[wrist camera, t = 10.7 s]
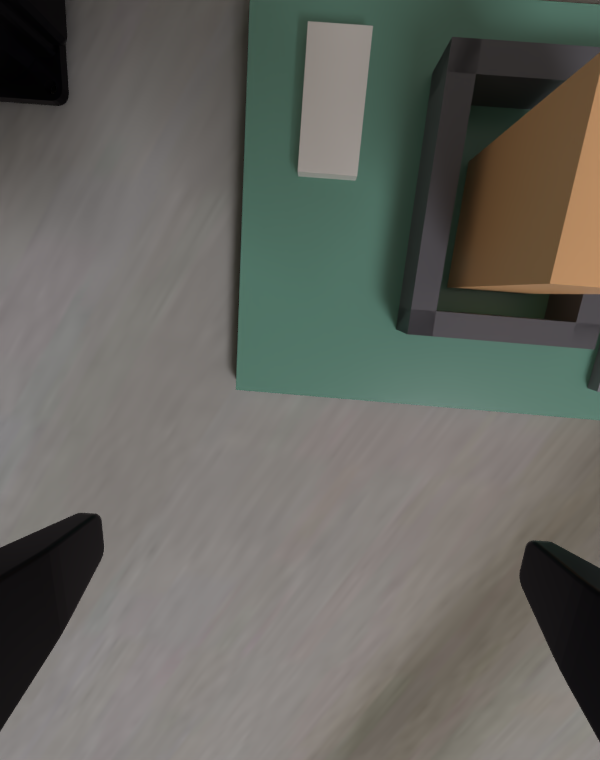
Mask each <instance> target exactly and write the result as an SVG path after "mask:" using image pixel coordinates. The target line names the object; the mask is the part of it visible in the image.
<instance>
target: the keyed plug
mask: <svg viewBox="0 0 600 760" xmlns="http://www.w3.org/2000/svg"><path fill="white" fill-rule="evenodd" d="M447 288H459V289H472V290H484V291H497V292H510V293H523V294H600V53H598V54H597V55H596V56H595V57H594V58H592V59H591V60H590V61H589V62H588V63H586V64H585V65H584V66H583V67H582V68H580V69H579V70H578V71H577V72H576V73H574V74H573V75H572V76H571V77H570V78H568V79H567V80H566V81H565V82H564V83H562V84H561V85H560V86H559V87H558V88H556V89H555V90H554V91H553V92H552V93H550V94H549V95H548V96H547V97H546V98H544V99H543V100H542V101H541V102H540V103H538V104H537V105H536V106H535V107H534V108H532V109H531V110H530V111H529V112H528V113H526V114H525V115H524V116H523V117H522V118H521V119H519V120H518V121H517V122H516V123H515V124H513V125H512V126H511V127H510V128H509V129H507V130H506V131H505V132H504V133H503V134H501V135H500V136H499V137H498V138H497V139H495V140H494V141H493V142H492V143H491V144H489V145H488V146H487V147H486V148H485V149H483V150H482V151H481V152H480V153H479V154H477V155H476V156H475V157H474V158H473V159H471V160H470V161H469V162H468V168H467V174H466V180H465V186H464V192H463V197H462V203H461V209H460V215H459V221H458V227H457V232H456V238H455V244H454V250H453V256H452V262H451V267H450V273H449V279H448V285H447Z"/></svg>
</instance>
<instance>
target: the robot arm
mask: <svg viewBox="0 0 600 760" xmlns="http://www.w3.org/2000/svg"><path fill="white" fill-rule="evenodd" d="M66 40H67V29H66V14H65V0H0V101H1V102H14V103H28V104H41V105H55V106H60V105H63V104H65V103H66V101H67V99H68V95H69V90H68V75H67V61H66V46H65V43H66ZM55 85H56V87H57V88H56V92H55V93H54V94H52V93H51V89H52V87H53V86H55ZM103 552H104V541H103V531H102V521H101V518H100V516H99V515H98V514H92V513H77V514H75V515H73V516H70V517H68V518H66V519H64V520H61V521H59V522H57V523H55V524H52V525H50V526H48V527H46V528H43V529H41V530H39V531H37V532H34V533H32V534H30V535H28V536H25V537H23V538H21V539H19V540H16V541H14V542H12V543H10V544H7V545H5V546H3V547H1V548H0V731H1V729H2V728H3V726H4V725H5V723H6V721H7V720H8V718H9V717H10V715H11V714H12V712H13V710H14V709H15V707H16V706H17V704H18V703H19V701H20V699H21V698H22V696H23V695H24V693H25V692H26V690H27V688H28V687H29V685H30V684H31V682H32V681H33V679H34V677H35V676H36V674H37V673H38V671H39V670H40V668H41V667H42V665H43V663H44V662H45V660H46V659H47V657H48V656H49V654H50V652H51V651H52V649H53V648H54V646H55V644H56V643H57V641H58V639H59V638H60V636H61V635H62V633H63V631H64V629H65V627H66V626H67V624H68V622H69V620H70V618H71V616H72V614H73V612H74V611H75V609H76V607H77V605H78V603H79V601H80V599H81V597H82V595H83V593H84V591H85V590H86V588H87V586H88V584H89V582H90V580H91V578H92V576H93V574H94V572H95V570H96V569H97V567H98V565H99V563H100V561H101V559H102V556H103ZM520 583H521V586H522V589H523V591H524V593H525V595H526V597H527V600H528V602H529V604H530V606H531V608H532V611H533V613H534V615H535V617H536V619H537V622H538V624H539V626H540V628H541V630H542V633H543V635H544V637H545V639H546V641H547V644H548V646H549V648H550V650H551V652H552V655H553V657H554V659H555V661H556V663H557V665H558V667H559V669H560V671H561V673H562V675H563V676H564V678H565V680H566V682H567V684H568V686H569V688H570V689H571V691H572V693H573V695H574V697H575V698H576V700H577V702H578V704H579V706H580V707H581V709H582V711H583V713H584V715H585V716H586V718H587V720H588V722H589V724H590V725H591V727H592V729H593V731H594V733H595V734H596V736H597V738H598V740H599V742H600V568H598V567H597V566H595V565H593V564H591V563H589V562H587V561H586V560H584V559H582V558H580V557H578V556H576V555H575V554H573V553H571V552H569V551H567V550H565V549H564V548H562V547H560V546H558V545H556V544H554V543H552V542H549V541H530V542H528V543H527V545H526V547H525V552H524V556H523V560H522V565H521V569H520Z"/></svg>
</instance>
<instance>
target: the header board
mask: <svg viewBox="0 0 600 760" xmlns="http://www.w3.org/2000/svg"><path fill="white" fill-rule="evenodd" d="M598 53H600V5H599V4H584V3H570V2H555V1H541V0H250V7H249V35H248V64H247V92H246V120H245V148H244V176H243V205H242V233H241V261H240V289H239V317H238V346H237V374H236V390H246V391H258V392H270V393H282V394H294V395H306V396H318V397H330V398H341V399H353V400H365V401H377V402H389V403H401V404H413V405H425V406H437V407H449V408H461V409H473V410H485V411H496V412H508V413H520V414H532V415H544V416H556V417H568V418H580V419H592V420H600V294H523V293H510V292H497V291H484V290H472V289H459V288H447V285H448V279H449V273H450V267H451V262H452V256H453V250H454V244H455V238H456V232H457V227H458V221H459V215H460V209H461V203H462V197H463V192H464V186H465V180H466V174H467V168H468V162H469V161H470V160H471V159H473V158H474V157H475V156H476V155H477V154H479V153H480V152H481V151H482V150H483V149H485V148H486V147H487V146H488V145H489V144H491V143H492V142H493V141H494V140H495V139H497V138H498V137H499V136H500V135H501V134H503V133H504V132H505V131H506V130H507V129H509V128H510V127H511V126H512V125H513V124H515V123H516V122H517V121H518V120H519V119H521V118H522V117H523V116H524V115H525V114H526V113H528V112H529V111H530V110H531V109H532V108H534V107H535V106H536V105H537V104H538V103H540V102H541V101H542V100H543V99H544V98H546V97H547V96H548V95H549V94H550V93H552V92H553V91H554V90H555V89H556V88H558V87H559V86H560V85H561V84H562V83H564V82H565V81H566V80H567V79H568V78H570V77H571V76H572V75H573V74H574V73H576V72H577V71H578V70H579V69H580V68H582V67H583V66H584V65H585V64H586V63H588V62H589V61H590V60H591V59H592V58H594V57H595V56H596V55H597V54H598Z"/></svg>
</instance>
